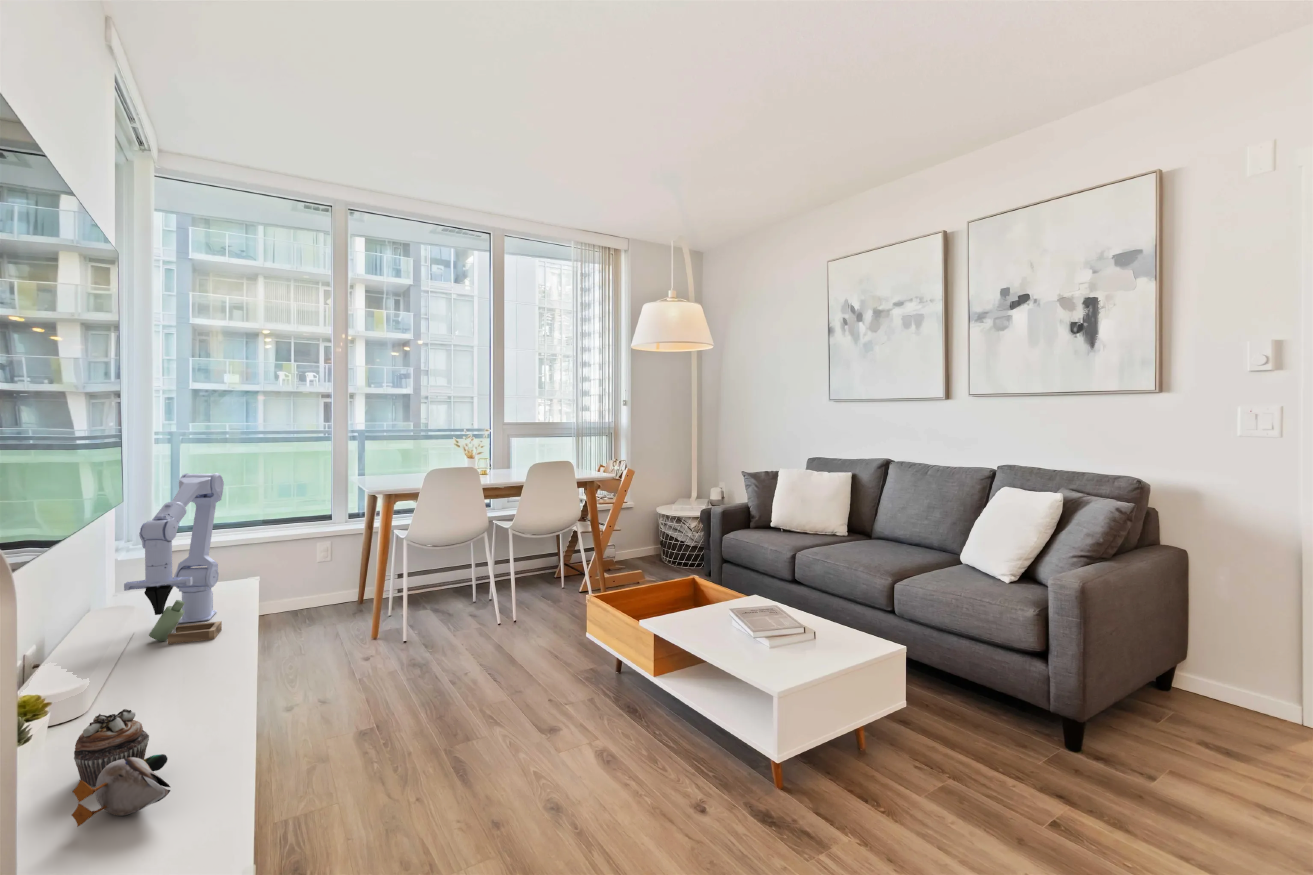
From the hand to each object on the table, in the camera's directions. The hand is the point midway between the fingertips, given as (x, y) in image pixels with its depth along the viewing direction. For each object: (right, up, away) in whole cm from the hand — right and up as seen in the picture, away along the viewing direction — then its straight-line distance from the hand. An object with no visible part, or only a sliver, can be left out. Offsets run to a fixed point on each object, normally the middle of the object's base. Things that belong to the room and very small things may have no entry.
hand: (159, 613), depth 167 cm
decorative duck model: (+55, -10, -71) cm, 90 cm away
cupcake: (+43, -9, -63) cm, 77 cm away
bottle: (0, -6, 0) cm, 6 cm away
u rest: (+7, -7, +3) cm, 11 cm away
